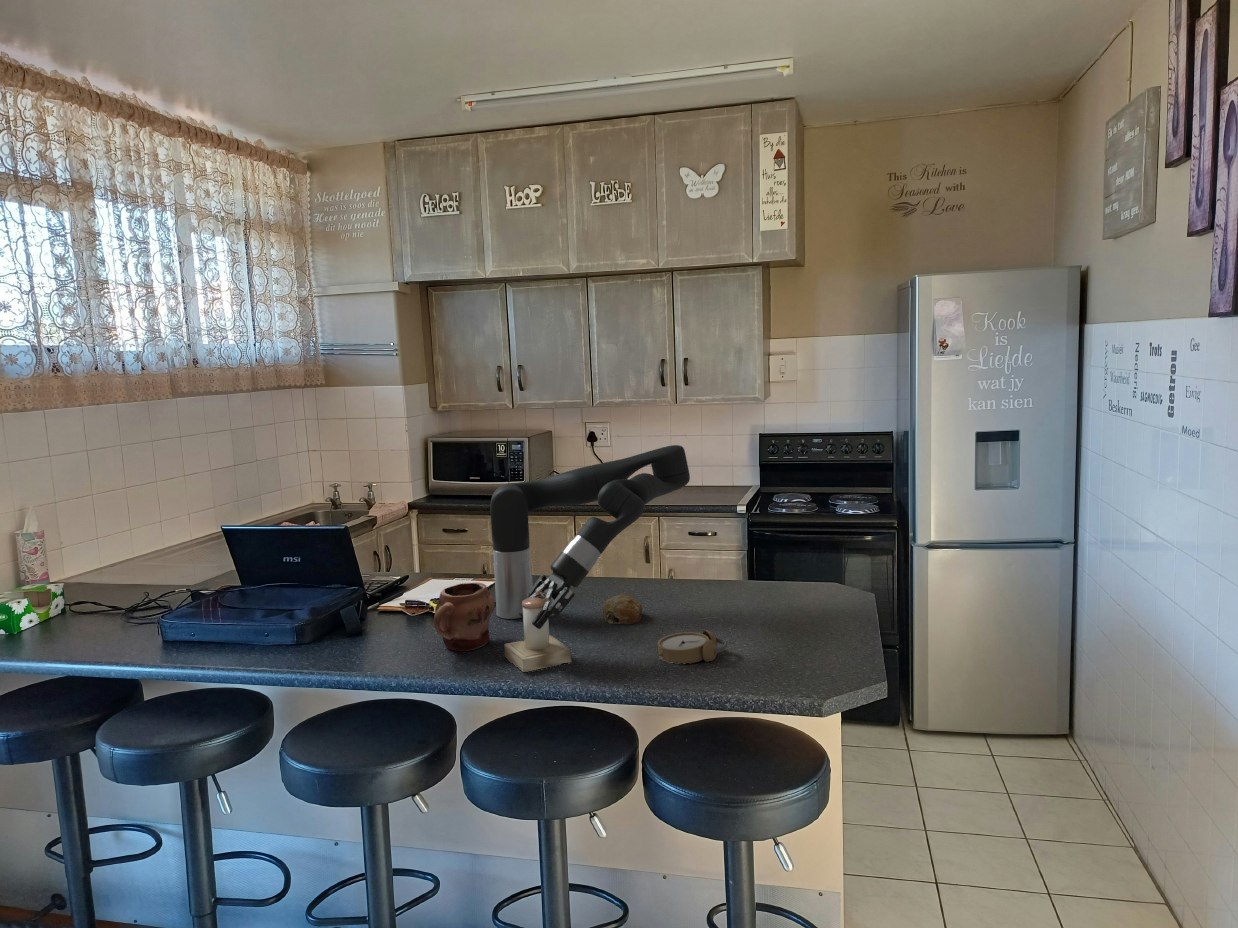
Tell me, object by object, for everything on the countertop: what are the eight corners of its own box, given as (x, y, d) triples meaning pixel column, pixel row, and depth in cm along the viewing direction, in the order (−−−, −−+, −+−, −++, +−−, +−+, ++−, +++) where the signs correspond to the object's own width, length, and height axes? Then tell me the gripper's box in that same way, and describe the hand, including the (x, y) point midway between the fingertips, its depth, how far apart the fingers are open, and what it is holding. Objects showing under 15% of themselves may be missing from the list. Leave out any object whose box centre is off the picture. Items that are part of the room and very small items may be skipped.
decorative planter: (466, 665, 181) (462, 603, 179) (417, 660, 185) (412, 599, 183) (508, 635, 199) (505, 578, 197) (462, 630, 203) (459, 575, 201)
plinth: (550, 647, 190) (550, 634, 190) (571, 662, 180) (570, 648, 180) (505, 657, 185) (504, 643, 184) (523, 673, 175) (522, 658, 175)
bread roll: (600, 634, 208) (593, 610, 204) (613, 606, 216) (607, 582, 212) (637, 638, 205) (631, 614, 201) (649, 609, 213) (644, 585, 209)
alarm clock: (657, 634, 188) (723, 622, 187) (661, 655, 189) (727, 643, 187) (654, 652, 177) (724, 640, 176) (659, 674, 178) (729, 662, 176)
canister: (532, 639, 186) (530, 596, 185) (554, 642, 184) (552, 598, 182) (519, 648, 181) (517, 603, 180) (541, 651, 179) (539, 606, 177)
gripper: (601, 578, 180) (554, 641, 176) (573, 563, 192) (528, 622, 189) (578, 557, 177) (529, 621, 173) (551, 544, 189) (504, 603, 185)
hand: (528, 621), depth 181 cm, fingers open, 6 cm apart
